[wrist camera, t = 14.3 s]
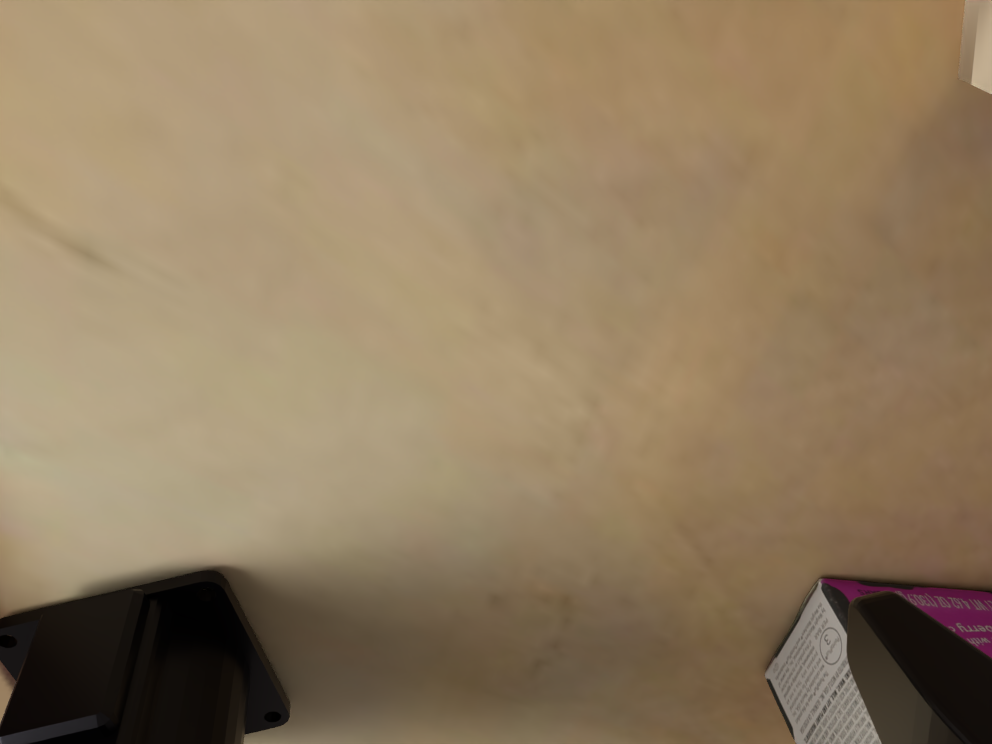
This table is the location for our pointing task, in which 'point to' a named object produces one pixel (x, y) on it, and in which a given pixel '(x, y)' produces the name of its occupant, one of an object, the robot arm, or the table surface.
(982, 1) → the birch block
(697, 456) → the table surface
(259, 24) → the table surface
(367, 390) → the table surface
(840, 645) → the candy bar box
